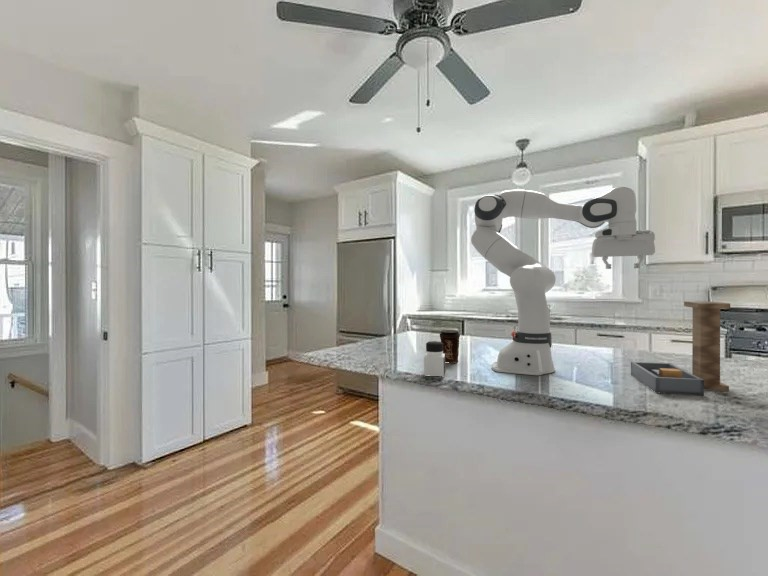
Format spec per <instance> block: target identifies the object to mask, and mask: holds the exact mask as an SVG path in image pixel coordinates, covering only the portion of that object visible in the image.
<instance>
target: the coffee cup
mask: <svg viewBox="0 0 768 576" xmlns="http://www.w3.org/2000/svg"><path fill="white" fill-rule="evenodd" d="M460 334H461V333H459V330H456V329H446V330H445V329H442V330H441V331H440V333H439V339H440V342H442V343H443V353H444V354H445V362H449V363H455V364H457V363H458V362H459V355H460V354H459V350H460V337H461V335H460ZM456 362H457V363H456Z"/></svg>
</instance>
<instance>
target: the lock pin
mask: <svg viewBox="0 0 768 576" xmlns="http://www.w3.org/2000/svg"><path fill="white" fill-rule="evenodd" d="M651 373H653V374H654V375H656V376H657V377H669V378H682V371H681V370H679V369H669V368H659V370H658V369H651Z"/></svg>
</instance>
